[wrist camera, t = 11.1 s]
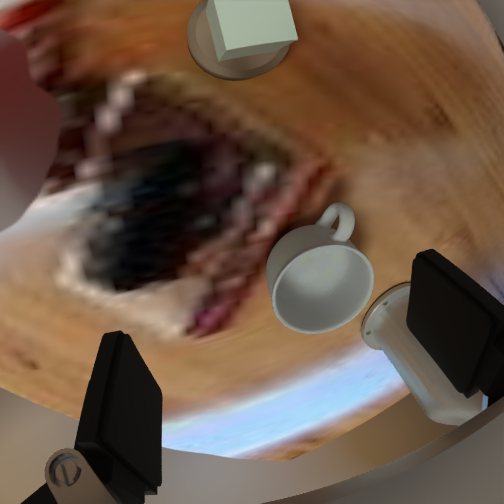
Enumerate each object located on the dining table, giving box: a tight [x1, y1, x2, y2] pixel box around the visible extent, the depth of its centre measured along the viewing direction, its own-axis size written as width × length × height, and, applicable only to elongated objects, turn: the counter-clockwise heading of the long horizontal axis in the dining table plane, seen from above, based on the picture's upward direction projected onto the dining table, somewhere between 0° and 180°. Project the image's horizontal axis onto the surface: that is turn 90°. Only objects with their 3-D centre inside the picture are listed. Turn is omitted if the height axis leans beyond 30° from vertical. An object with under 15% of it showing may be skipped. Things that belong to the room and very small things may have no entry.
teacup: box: [266, 202, 374, 334], centre depth 33 cm, size 14×11×8 cm
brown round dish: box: [187, 0, 291, 81], centre depth 23 cm, size 9×9×4 cm
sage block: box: [206, 0, 298, 62], centre depth 19 cm, size 5×5×6 cm
